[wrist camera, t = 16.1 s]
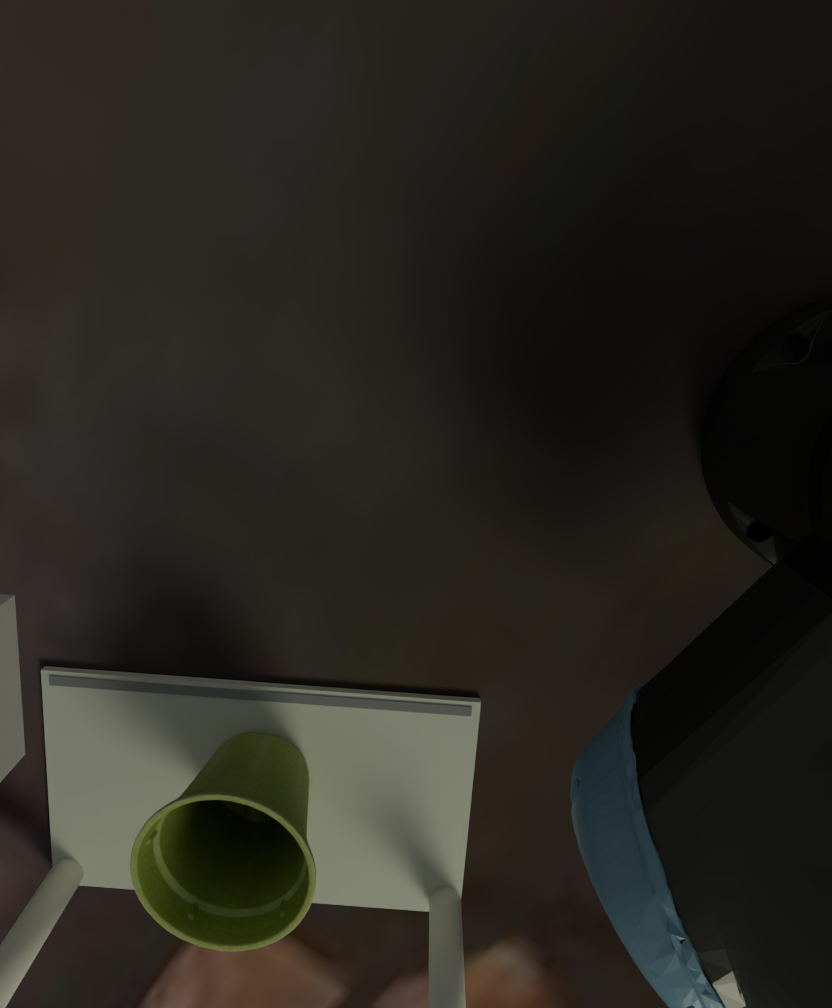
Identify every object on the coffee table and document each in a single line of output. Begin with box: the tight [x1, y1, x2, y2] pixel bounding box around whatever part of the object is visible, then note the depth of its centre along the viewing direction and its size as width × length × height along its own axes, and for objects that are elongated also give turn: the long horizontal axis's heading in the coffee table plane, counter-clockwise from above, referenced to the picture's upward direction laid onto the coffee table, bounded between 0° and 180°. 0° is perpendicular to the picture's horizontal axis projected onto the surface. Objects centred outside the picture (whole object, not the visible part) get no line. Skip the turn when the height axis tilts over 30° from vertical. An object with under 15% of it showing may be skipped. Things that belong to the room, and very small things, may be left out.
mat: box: [0, 666, 481, 1008], centre depth 44 cm, size 26×15×10 cm, turn 86°
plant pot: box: [130, 732, 316, 951], centre depth 44 cm, size 9×9×9 cm
